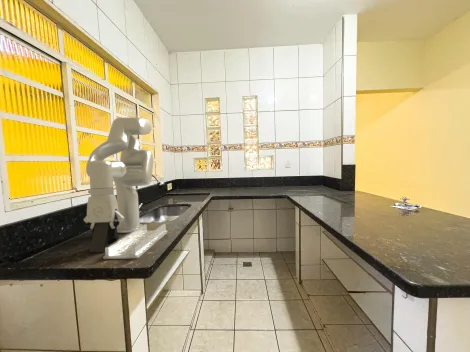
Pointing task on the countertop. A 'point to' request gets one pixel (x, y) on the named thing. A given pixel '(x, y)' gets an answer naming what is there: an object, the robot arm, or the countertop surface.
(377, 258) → the countertop surface
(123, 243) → the aluminium track
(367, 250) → the countertop surface
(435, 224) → the countertop surface
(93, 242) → the phone stand
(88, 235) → the countertop surface
